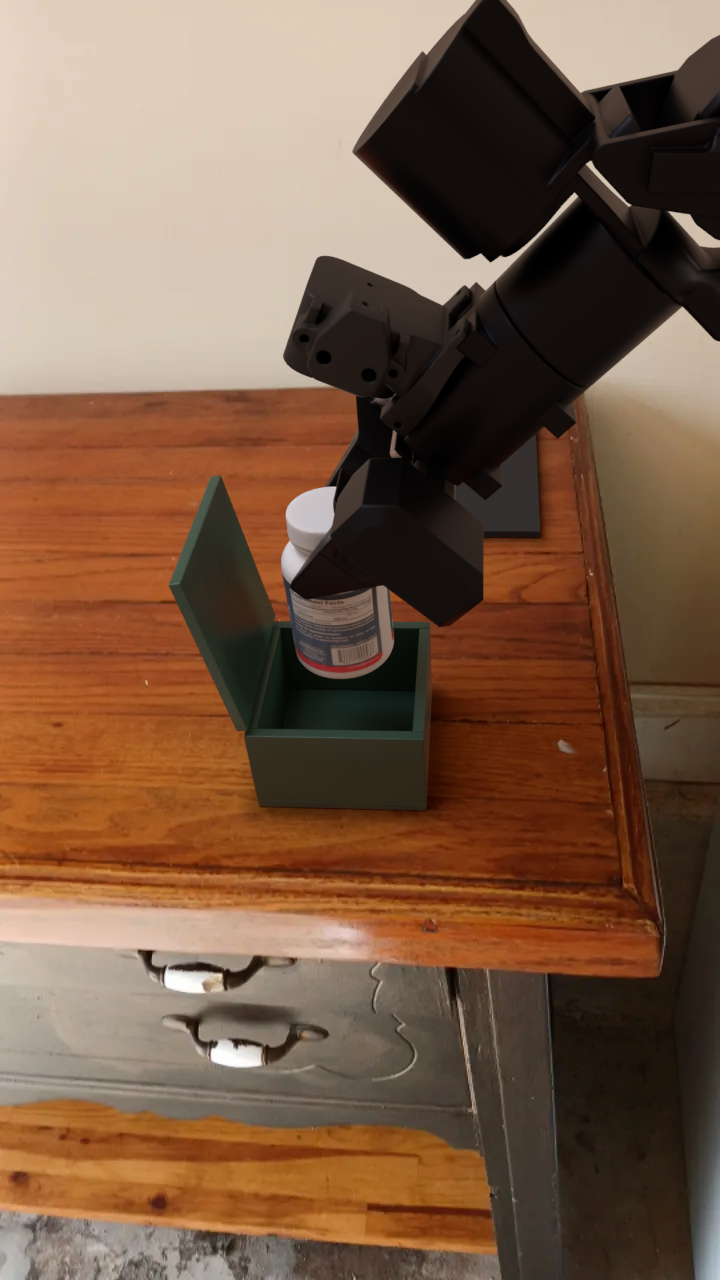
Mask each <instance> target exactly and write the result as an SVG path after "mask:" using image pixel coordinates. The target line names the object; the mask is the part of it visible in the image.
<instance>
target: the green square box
mask: <svg viewBox="0 0 720 1280" xmlns="http://www.w3.org/2000/svg"><path fill="white" fill-rule="evenodd" d="M393 630H394V644H393V649H392V651H391V653H390V655H389V657H388V658H387V660H386V661H385V662H384V663H383V664H382V665H380V666H379V667H378V668H377V669H375V670H373V671H372V672H370V673H367V674H365V675H362V676H359V677H355V678H349V679H332V678H326V677H323V676H319V675H317V674H315V673H313V672H311V671H309V670H308V669H307V668H306V667H304V666H303V664H302V663H301V662H300V660H299V658H298V656H297V653H296V649H295V644H294V638H293V632H292V627H291V621H290V620H274V623H273V627H272V632H271V636H270V640H269V644H268V648H267V652H266V656H265V660H264V664H263V668H262V673H261V677H260V681H259V685H258V689H257V693H256V697H255V701H254V705H253V710H252V714H251V718H250V722H249V726H248V730H247V731H244V734H243V740H244V744H245V749H246V752H247V758H248V762H249V769H250V771H251V772H250V773H251V777H252V781H253V786H254V791H255V795H256V798H257V805H258V807H278V808H312V809H313V808H314V809H352V810H353V809H354V810H384V811H385V810H387V811H390V810H391V811H423V812H424V811H427V808H428V804H427V803H428V787H429V785H428V784H429V766H430V765H429V763H430V744H431V743H430V742H431V723H432V721H431V720H432V702H433V701H432V699H433V679H432V678H433V676H432V673H433V672H432V644H431V643H432V641H431V638H432V637H431V621H393Z"/></svg>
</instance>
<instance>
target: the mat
mask: <svg viewBox="0 0 720 1280" xmlns="http://www.w3.org/2000/svg"><path fill="white" fill-rule="evenodd" d="M537 448H538V447H537V434H536V435H534V436H533V437H532V438H531V439H530V440H529V441H527V442H526V443H525V444H524V445H523V446H522V447H521V448H519V449H518V450H517V451H516V452H515V453H514V454H513V455H511V456H510V457H509V458H508V459H507V460H506V461H504V462H503V463H502V487H501V488H499V489H498V490H497V491H496V492H495V493H493V494H492V495H491V496H490V497H489V498H488V499H486V500H484V499H483V498H482V497H481V496H480V495H478V494H477V493H476V492H475V491H474V490H472V489H471V488H470V487H469V486H468V485H466V484H465V483H464V482H463V483H462V484H461V485H459V486H456V498H455V500H456V501H457V502H458V503H460V504H461V505H462V506H463V507H464V508H466V509H467V510H468V511H469V512H471V513H472V514H473V515H474V516H475V517H477V518H478V519H479V520H480V521H482V522H483V523H484V538H510V539H511V538H515V539H516V538H520V539H521V538H522V539H524V538H525V539H526V538H527V539H529V538H530V539H531V538H532V539H539V538H541V516H540V514H541V513H540V493H539V491H540V490H539V474H538V473H539V471H538V469H539V468H538V449H537Z"/></svg>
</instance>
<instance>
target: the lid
mask: <svg viewBox="0 0 720 1280" xmlns="http://www.w3.org/2000/svg"><path fill="white" fill-rule="evenodd" d="M168 588H169V589H170V592H171V594H172V596H173V598H174V600H175V603H176V605H177V606H178V607H177V608H178V609H179V612H180V613H181V615H182V618H183V619H184V621H185V624H186V626H187V629H188V630H189V632H190V635H191V637H192V639H193V641H194V643H195V645H196V647H197V649H198V651H199V654H200V655H201V658H202V660H203V662H204V665H205V666H206V668H207V670H208V673H209V675H210V677H211V679H212V682H213V683H214V686H215V687H216V690H217V692H218V694H219V696H220V698H221V700H222V703H223V705H224V707H225V710H226V711H227V713H228V715H229V717H230V720H231V722H232V724H233V726H234V728H235V730H236V732H245V731H247V730H248V726H249V722H250V718H251V714H252V710H253V705H254V701H255V697H256V693H257V689H258V685H259V681H260V677H261V673H262V668H263V664H264V660H265V656H266V652H267V648H268V644H269V640H270V636H271V632H272V627H273V623H274V621H275V619H276V614H275V611H274V608H273V605H272V603H271V600H270V597H269V595H268V593H267V590H266V587H265V585H264V583H263V580H262V577H261V575H260V572H259V569H258V567H257V564H256V562H255V560H254V556H253V554H252V551H251V549H250V546H249V544H248V541H247V539H246V536H245V533H244V531H243V528H242V525H241V524H240V521H239V519H238V515H237V514H236V510H235V507H234V505H233V503H232V500H231V497H230V495H229V492H228V490H227V487H226V485H225V482H224V480H223V477H222V475H221V474H219V475H212V476H210V477H209V480H208V483H207V485H206V488H205V490H204V492H203V495H202V498H201V500H200V503H199V505H198V508H197V510H196V513H195V516H194V518H193V521H192V524H191V526H190V529H189V531H188V533H187V536H186V539H185V542H184V544H183V547H182V549H181V551H180V553H179V556H178V560H177V562H176V565H175V567H174V569H173V572H172V574H171V577H170V580H169V582H168Z"/></svg>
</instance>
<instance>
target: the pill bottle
mask: <svg viewBox="0 0 720 1280" xmlns="http://www.w3.org/2000/svg"><path fill="white" fill-rule="evenodd" d="M335 490H336V487H325V486H324V487H323V486H322V487H319V488H313V489H310V490H307V491H305V492H303V493H301V494H299V495H297V496H296V497H295V498H294V499H292V501H290V503H289V504H288V506H287V507H286V510H285V523H286V531H287V536H288V539H289V541H288V542H287V543H286V545H285V547H284V548H283V550H282V553H281V557H280V558H281V559H280V567H281V575H282V581H283V586H284V591H285V598H286V603H287V609H288V615H289V619H290V620H289V621H291V627H292V632H293V638H294V644H295V649H296V653H297V656H298V658H299V660H300V662H301V663H302V664H303V666H304V667H306V668H307V669H308V670H309V671H311V672H313V673H315V674H317V675H319V676H323V677H326V678H332V679H349V678H355V677H359V676H362V675H365V674H367V673H370V672H372V671H373V670H375V669H377V668H378V667H379V666H380V665H382V664H383V663H384V662H385V661H386V660H387V658H388V657H389V655H390V653H391V651H392V649H393V644H394V630H393V622H394V620H393V610H392V598H391V591H390V590H389V589H387V588H386V587H385V586H377V587H372V588H365V589H360V590H355V591H350V592H345V593H340V594H335V595H330V596H325V597H320V598H314V599H309V600H307V599H304V598H302V597H301V596H299V595H298V594H297V593H295V592H294V591H292V590H291V588H290V586H291V582H292V580H293V579H294V577H295V576H296V574H297V573H298V571H299V570H300V568H301V567H302V566H303V564H304V563H305V561H306V560H307V559H308V557H309V556H310V555H311V553H312V552H313V551H314V549H315V548H316V547H317V545H318V544H319V543H320V541H321V540H322V539H323V537H324V536H325V535H326V533H327V532H328V531H329V529H330V528H331V527H332V523H333V519H334V510H333V500H334V495H335Z"/></svg>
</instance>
